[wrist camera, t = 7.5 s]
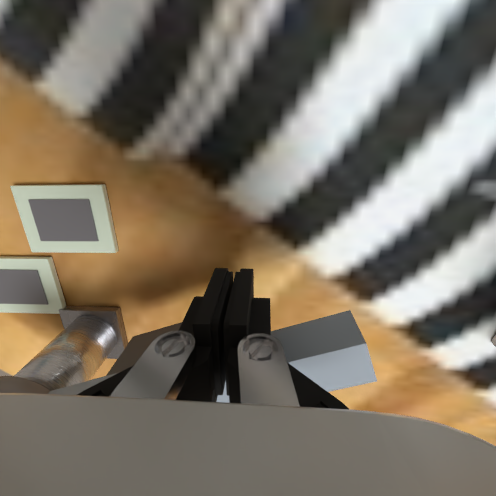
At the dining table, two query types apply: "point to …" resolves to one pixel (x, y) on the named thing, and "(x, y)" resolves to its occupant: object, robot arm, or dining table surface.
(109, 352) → the post
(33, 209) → the label tile
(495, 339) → the coffee box
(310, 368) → the bar
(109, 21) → the dining table surface
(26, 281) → the label tile
